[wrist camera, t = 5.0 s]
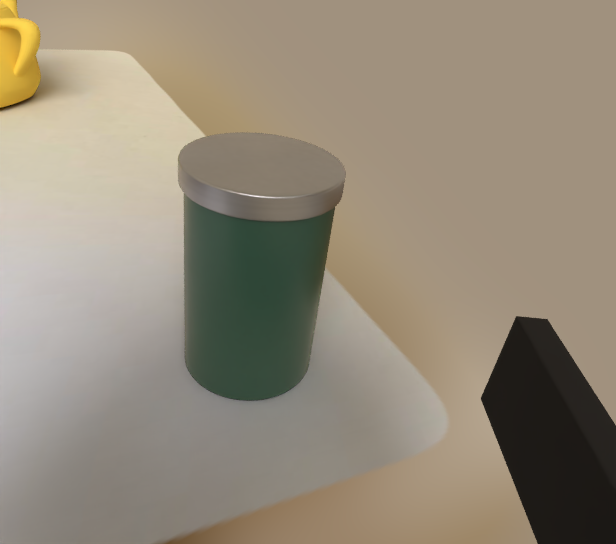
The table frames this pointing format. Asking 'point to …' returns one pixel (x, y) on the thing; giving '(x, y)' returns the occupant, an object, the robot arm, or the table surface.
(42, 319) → the table surface
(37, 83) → the teapot
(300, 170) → the tin
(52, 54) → the table surface
